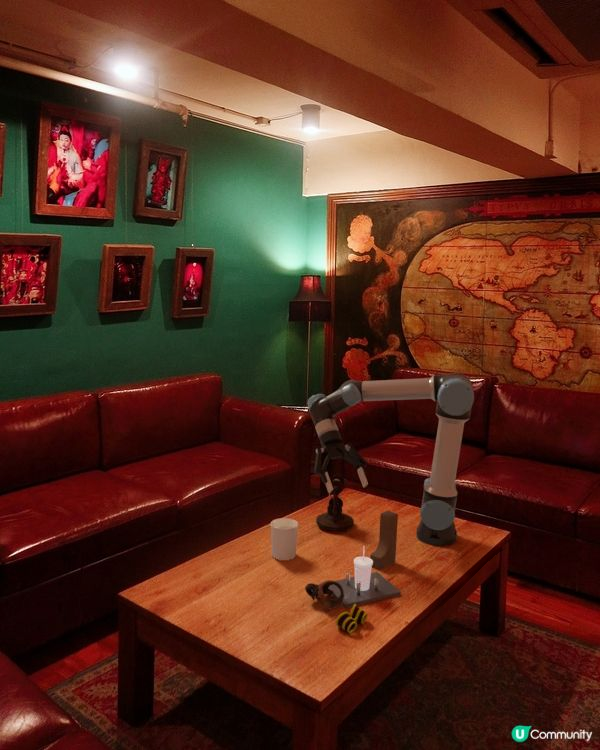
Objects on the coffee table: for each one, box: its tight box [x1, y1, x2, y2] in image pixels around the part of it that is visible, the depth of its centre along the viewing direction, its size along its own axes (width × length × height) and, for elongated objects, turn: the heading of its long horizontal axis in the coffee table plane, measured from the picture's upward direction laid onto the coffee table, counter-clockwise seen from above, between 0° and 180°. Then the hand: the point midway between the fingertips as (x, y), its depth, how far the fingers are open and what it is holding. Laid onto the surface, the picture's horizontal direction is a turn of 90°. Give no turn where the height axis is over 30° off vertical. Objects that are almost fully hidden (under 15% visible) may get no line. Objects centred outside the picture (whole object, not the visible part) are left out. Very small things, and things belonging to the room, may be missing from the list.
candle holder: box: [270, 517, 299, 561], centre depth 230 cm, size 10×10×12 cm
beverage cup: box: [353, 545, 373, 591], centre depth 207 cm, size 6×6×14 cm
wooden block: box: [369, 510, 399, 571], centre depth 225 cm, size 9×4×18 cm, turn 135°
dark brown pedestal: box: [315, 474, 355, 532], centre depth 256 cm, size 15×15×20 cm
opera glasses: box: [335, 604, 369, 634], centre depth 188 cm, size 10×5×5 cm, turn 142°
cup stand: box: [328, 571, 402, 609], centre depth 208 cm, size 20×14×5 cm
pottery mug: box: [304, 579, 344, 612], centre depth 199 cm, size 12×10×8 cm
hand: (348, 488), depth 222 cm, fingers open, 13 cm apart
